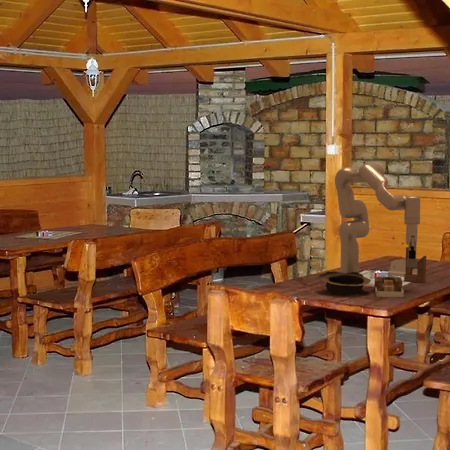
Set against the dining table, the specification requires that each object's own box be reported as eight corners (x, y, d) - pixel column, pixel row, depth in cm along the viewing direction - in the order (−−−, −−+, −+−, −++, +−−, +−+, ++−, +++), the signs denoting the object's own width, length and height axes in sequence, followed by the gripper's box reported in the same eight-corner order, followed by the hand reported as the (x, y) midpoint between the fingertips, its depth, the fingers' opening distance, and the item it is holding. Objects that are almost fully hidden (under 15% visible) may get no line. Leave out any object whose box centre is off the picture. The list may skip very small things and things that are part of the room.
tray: (375, 296, 394) (376, 291, 394) (375, 292, 406) (375, 287, 405) (403, 297, 392) (403, 292, 392) (402, 292, 404) (402, 287, 404)
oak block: (384, 293, 400) (384, 281, 399) (383, 292, 404) (384, 279, 403) (392, 293, 399) (392, 281, 398) (392, 292, 403) (392, 280, 402)
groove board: (375, 292, 406) (375, 281, 405) (374, 287, 419) (374, 276, 418) (402, 292, 404) (402, 281, 403) (400, 288, 417) (400, 277, 416)
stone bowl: (330, 285, 423) (332, 267, 422) (376, 293, 411) (378, 275, 410) (310, 292, 402) (311, 274, 401) (358, 301, 390) (360, 282, 388)
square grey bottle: (406, 267, 406) (407, 239, 405) (406, 266, 410) (407, 238, 409) (417, 267, 406) (418, 239, 404) (416, 266, 409) (417, 238, 408)
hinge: (387, 275, 455) (389, 257, 457) (389, 277, 459) (392, 259, 461) (416, 277, 447) (419, 259, 449) (419, 279, 451) (421, 261, 453)
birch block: (384, 293, 400) (384, 295, 396) (384, 285, 399) (384, 286, 395) (392, 293, 399) (393, 295, 395) (393, 285, 399) (393, 287, 395)
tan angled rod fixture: (423, 283, 431) (424, 248, 429) (403, 281, 437) (404, 247, 435) (425, 282, 434) (426, 248, 432) (406, 280, 440) (407, 246, 438)
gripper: (403, 219, 414) (402, 255, 416) (405, 222, 398) (405, 260, 400) (418, 219, 413) (418, 256, 415) (421, 222, 397) (420, 260, 399)
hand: (411, 257), depth 407 cm, fingers closed on square grey bottle, 3 cm apart
